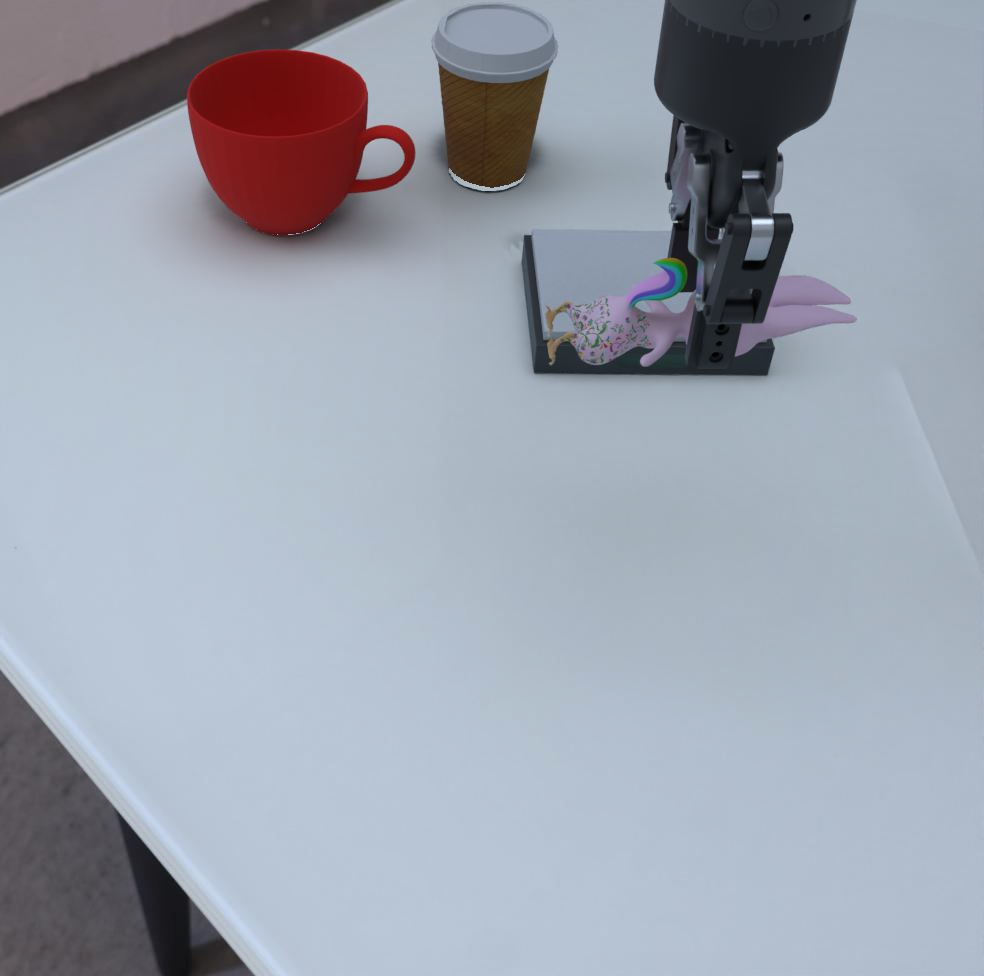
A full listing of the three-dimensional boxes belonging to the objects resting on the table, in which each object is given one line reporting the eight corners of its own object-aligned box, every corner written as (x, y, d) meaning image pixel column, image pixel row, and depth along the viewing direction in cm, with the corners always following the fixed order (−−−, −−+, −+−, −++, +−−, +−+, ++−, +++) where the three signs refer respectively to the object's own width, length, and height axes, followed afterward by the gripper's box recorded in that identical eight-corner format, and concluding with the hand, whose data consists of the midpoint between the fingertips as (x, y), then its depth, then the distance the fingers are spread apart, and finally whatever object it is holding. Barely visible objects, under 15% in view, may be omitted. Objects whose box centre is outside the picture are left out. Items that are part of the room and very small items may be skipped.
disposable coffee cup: (471, 129, 110) (478, -12, 102) (568, 166, 107) (583, 23, 98) (404, 176, 105) (406, 31, 96) (503, 217, 101) (514, 70, 93)
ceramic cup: (382, 288, 95) (382, 164, 87) (170, 239, 98) (153, 116, 91) (440, 196, 103) (444, 77, 96) (243, 154, 107) (233, 36, 99)
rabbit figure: (553, 410, 65) (864, 377, 63) (541, 313, 60) (875, 275, 59) (547, 331, 69) (838, 299, 67) (536, 236, 65) (847, 198, 63)
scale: (734, 264, 98) (743, 227, 96) (767, 375, 89) (778, 338, 87) (521, 261, 97) (524, 224, 95) (533, 373, 89) (537, 335, 86)
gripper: (903, 76, 48) (803, 422, 60) (811, -83, 58) (742, 242, 70) (699, 77, 48) (641, 424, 60) (642, -83, 57) (602, 243, 70)
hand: (695, 325), depth 65 cm, fingers closed on rabbit figure, 5 cm apart
